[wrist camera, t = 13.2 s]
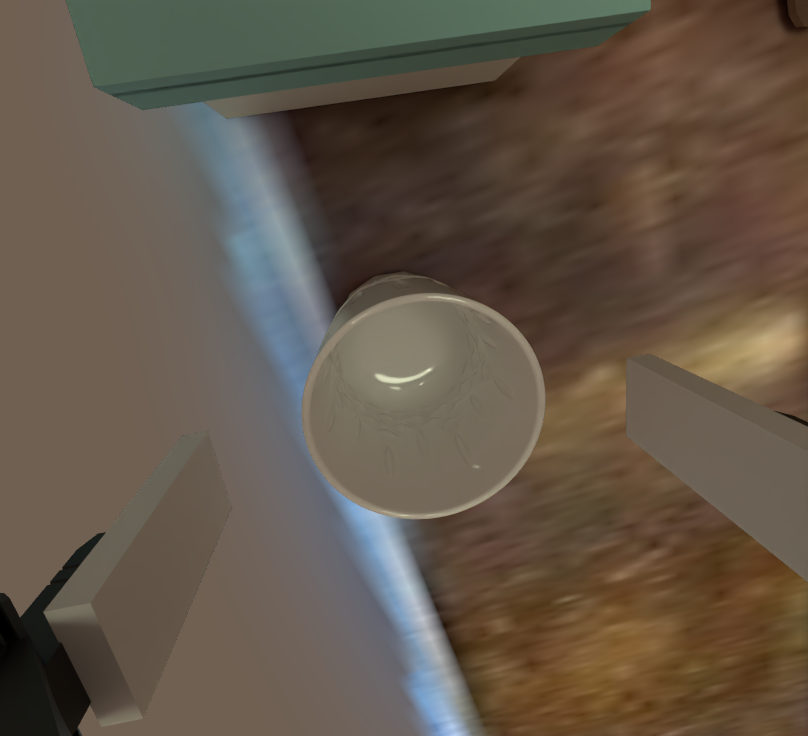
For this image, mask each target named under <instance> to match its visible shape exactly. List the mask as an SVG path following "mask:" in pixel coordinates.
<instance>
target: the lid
mask: <svg viewBox="0 0 808 736" xmlns="http://www.w3.org/2000/svg"><path fill="white" fill-rule="evenodd" d="M66 3H67V6H68V9H69V12H70V15H71V18H72V21H73V25H74V28H75V31H76V34H77V37H78V40H79V43H80V46H81V50H82V53H83V56H84V59H85V62H86V65H87V68H88V71H89V74H90V78H91V81H92V84H93V86H94V87H95V88H97V89H99V90H102V91H104V92H106V93H108V94H110V95H112V96H114V97H116V98H118V99H121V100H123V101H125V102H127V103H129V104H131V105H133V106H135V107H138V108H140V109H142V110H146V109H153V108H160V107H167V106H174V105H182V104H189V103H196V102H203V101H210V100H217V99H224V98H231V97H238V96H246V95H253V94H260V93H267V92H274V91H281V90H288V89H295V88H302V87H309V86H317V85H324V84H331V83H338V82H345V81H352V80H359V79H366V78H373V77H381V76H388V75H395V74H402V73H409V72H416V71H423V70H430V69H437V68H444V67H452V66H459V65H466V64H473V63H480V62H487V61H494V60H501V59H508V58H515V57H523V56H530V55H537V54H544V53H551V52H558V51H565V50H572V49H579V48H587V47H594V46H598V45H600V44H601V43H603V42H604V41H605V40H607V39H608V38H610V37H611V36H613V35H614V34H616V33H617V32H619V31H620V30H622V29H623V28H625V27H626V26H628V25H629V24H631V23H632V22H633V21H635V20H636V19H638V18H639V17H641V16H642V15H644V14H645V13H647V12H648V11H650V10H651V0H66Z"/></svg>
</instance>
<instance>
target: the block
mask: <svg viewBox="0 0 808 736" xmlns="http://www.w3.org/2000/svg"><path fill="white" fill-rule="evenodd" d="M787 6H788V14H789V17H790V19H791V20H792V22H793V24H794V25H795V27H808V0H787Z"/></svg>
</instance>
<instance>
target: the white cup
mask: <svg viewBox="0 0 808 736" xmlns="http://www.w3.org/2000/svg"><path fill="white" fill-rule="evenodd" d="M544 414H545V385H544V380H543V375H542V371H541V368H540V365H539V362H538V360H537V358H536V355H535V353H534V351H533V350H532V348H531V346H530V345H529V343H528V342H527V340H526V339H525V337H524V336H523V335H522V334H521V332H520V331H519V330H518V329H517V328H516V327H515V326H514V325H513V324H512V323H511V322H510V321H508V320H507V319H506V318H505V317H503V316H502V315H501V314H499V313H498V312H496V311H495V310H493V309H491V308H490V307H488V306H486V305H484V304H482V303H480V302H478V301H476V300H474V299H473V298H471V297H469V296H467V295H465V294H464V293H462V292H460V291H458V290H456V289H455V288H453V287H451V286H448V285H446V284H444V283H441V282H439V281H436V280H434V279H431V278H428V277H424V276H419V275H415V274H412V273H409V272H405V271H403V272H396V273H390V274H384V275H378V276H374V277H372V278H371V279H370V280H368V281H367V282H365V283H364V284H362V285H361V286H360V287H358V288H357V289H355V290H354V291H353V292H351V293H350V294H349V295H348V297H347V299H346V301H345V303H344V304H343V305H342V306H341V308H340V309H339V310H338V312H337V313H336V315H335V317H334V319H333V321H332V322H331V324H330V326H329V328H328V330H327V332H326V334H325V336H324V339H323V341H322V344H321V346H320V348H319V351H318V353H317V356H316V358H315V361H314V363H313V365H312V367H311V370H310V372H309V375H308V378H307V381H306V384H305V388H304V393H303V399H302V426H303V432H304V437H305V440H306V444H307V447H308V449H309V452H310V454H311V456H312V458H313V460H314V462H315V464H316V466H317V467H318V469H319V470H320V472H321V473H322V475H323V476H324V477H325V478H326V480H327V481H328V482H329V483H330V484H331V485H332V486H333V487H334V488H335V489H336V490H337V491H339V492H340V493H341V494H342V495H344V496H345V497H346V498H348V499H349V500H351V501H352V502H354V503H356V504H358V505H359V506H361V507H364V508H366V509H368V510H370V511H373V512H376V513H379V514H382V515H386V516H391V517H396V518H404V519H429V518H437V517H443V516H447V515H451V514H455V513H458V512H461V511H464V510H466V509H469V508H471V507H473V506H475V505H477V504H479V503H481V502H483V501H485V500H486V499H488V498H489V497H491V496H492V495H494V494H495V493H497V492H498V491H499V490H500V489H502V488H503V487H504V486H505V485H506V484H507V483H508V482H510V481H511V480H512V479H513V477H514V476H515V475H516V474H517V473H518V472H519V471H520V469H521V468H522V467H523V465H524V464H525V463H526V461H527V459H528V458H529V456H530V455H531V453H532V451H533V449H534V447H535V445H536V443H537V440H538V438H539V435H540V432H541V428H542V424H543V420H544Z"/></svg>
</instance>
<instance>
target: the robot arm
mask: <svg viewBox="0 0 808 736" xmlns="http://www.w3.org/2000/svg"><path fill="white" fill-rule="evenodd" d="M626 436H627V437H628V438H629V439H631V440H632V441H633V442H634V443H636V444H637V445H638V446H639V447H641V448H642V449H643V450H644V451H646V452H647V453H648V454H649V455H651V456H652V457H653V458H654V459H656V460H657V461H658V462H659V463H661V464H662V465H663V466H664V467H666V468H667V469H668V470H669V471H670V472H672V473H673V474H674V475H675V476H677V477H678V478H679V479H680V480H682V481H683V482H684V483H685V484H687V485H688V486H689V487H690V488H692V489H693V490H694V491H695V492H697V493H698V494H699V495H700V496H702V497H703V498H704V499H705V500H707V501H708V502H709V503H710V504H712V505H713V506H714V507H715V508H717V509H718V510H719V511H720V512H721V513H723V514H724V515H725V516H726V517H728V518H729V519H730V520H731V521H733V522H734V523H735V524H736V525H738V526H739V527H740V528H741V529H743V530H744V531H745V532H746V533H748V534H749V535H750V536H751V537H753V538H754V539H755V540H756V541H758V542H759V543H760V544H761V545H763V546H764V547H765V548H766V549H767V550H769V551H770V552H771V553H772V554H774V555H775V556H776V557H777V558H779V559H780V560H781V561H782V562H784V563H785V564H786V565H787V566H789V567H790V568H791V569H792V570H794V571H795V572H796V573H797V574H799V575H800V576H801V577H802V578H804V579H805V580H806V581H807V582H808V422H806V421H804V420H802V419H800V418H797V417H795V416H792V415H788V414H784V413H781V412H777V411H773V410H771V409H768V408H766V407H764V406H762V405H760V404H758V403H755V402H753V401H751V400H749V399H747V398H745V397H742V396H740V395H738V394H736V393H734V392H732V391H729V390H727V389H725V388H723V387H721V386H719V385H716V384H714V383H712V382H710V381H708V380H706V379H703V378H701V377H699V376H697V375H695V374H693V373H690V372H688V371H686V370H684V369H682V368H680V367H677V366H675V365H673V364H671V363H669V362H667V361H664V360H662V359H660V358H658V357H656V356H654V355H651V354H646V355H640V356H634V357H628V358H627V370H626ZM231 509H232V506H231V503H230V500H229V497H228V493H227V491H226V487H225V484H224V480H223V477H222V474H221V471H220V468H219V464H218V461H217V458H216V455H215V452H214V448H213V445H212V442H211V439H210V436H209V433H208V431H205V432H200V433H193V434H188V435H183V436H182V437H181V438H180V439H179V441H178V442H177V443H176V444H175V446H174V447H173V448H172V449H171V451H170V452H169V453H168V455H167V456H166V457H165V458H164V459H163V461H162V462H161V463H160V465H159V466H158V467H157V468H156V470H155V471H154V472H153V473H152V475H151V476H150V477H149V479H148V480H147V481H146V482H145V484H144V485H143V486H142V488H141V489H140V490H139V491H138V492H137V494H136V495H135V496H134V498H133V499H132V500H131V501H130V503H129V504H128V505H127V507H126V508H125V509H124V510H123V511H122V513H121V514H120V515H119V517H118V518H117V519H116V520H115V522H114V523H113V524H112V525H111V527H110V528H109V529H108V531H107V532H104V533H99V534H97V535H96V536H94V537H93V538H92V539H90V540H89V541H88V542H86V543H85V544H84V545H83V546H81V547H80V548H79V549H77V550H76V551H75V553H74V554H73V555H72V556H71V557H70V559H69V560H68V561H67V562H66V563H65V565H64V566H63V569H62V570H60V571H59V572H58V573H57V574H56V575H55V577H54V578H53V579H52V581H50V582H51V583H50V585H47V586H46V587H45V589H44V590H43V591H42V592H41V593H40V595H39V596H38V597H37V598H36V599H35V601H34V602H33V603H32V604H31V605H30V607H29V608H28V609H27V610H26V611H25V613H24V614H23V615H22V616H21V617H19V615H18V613H17V611H16V609H15V607H14V606H13V604H12V602H11V600H10V598H9V597H8V596H7V595H6V594H4V593H0V736H82V735H81V733H80V731H79V729H78V725H79V724H80V722H81V720H82V718H83V716H84V714H85V713H86V711H87V709H88V707H89V705H90V706H91V707H92V710H93V712H94V713H95V716H96V717H97V719H98V721H99V723H100V725H101V727H104V726H109V725H114V724H118V723H124V722H129V721H133V720H139V719H143V718H144V716H145V713H146V711H147V708H148V706H149V704H150V701H151V699H152V697H153V694H154V692H155V690H156V687H157V685H158V682H159V680H160V678H161V675H162V673H163V671H164V668H165V666H166V663H167V661H168V658H169V656H170V654H171V652H172V649H173V647H174V645H175V642H176V640H177V637H178V635H179V633H180V630H181V628H182V626H183V623H184V621H185V618H186V616H187V614H188V611H189V609H190V607H191V604H192V602H193V599H194V597H195V595H196V592H197V590H198V587H199V585H200V583H201V580H202V578H203V576H204V573H205V571H206V569H207V566H208V564H209V561H210V559H211V557H212V554H213V552H214V550H215V547H216V545H217V542H218V540H219V538H220V535H221V533H222V530H223V528H224V526H225V524H226V521H227V519H228V516H229V514H230V512H231Z"/></svg>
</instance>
